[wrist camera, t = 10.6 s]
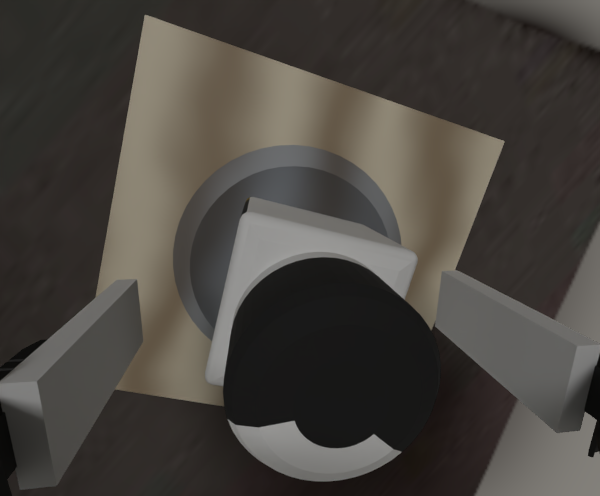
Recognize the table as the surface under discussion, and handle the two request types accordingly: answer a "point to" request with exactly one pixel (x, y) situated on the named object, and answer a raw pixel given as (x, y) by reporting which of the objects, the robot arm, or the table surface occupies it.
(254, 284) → the medicine bottle
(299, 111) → the square wooden board
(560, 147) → the table surface
